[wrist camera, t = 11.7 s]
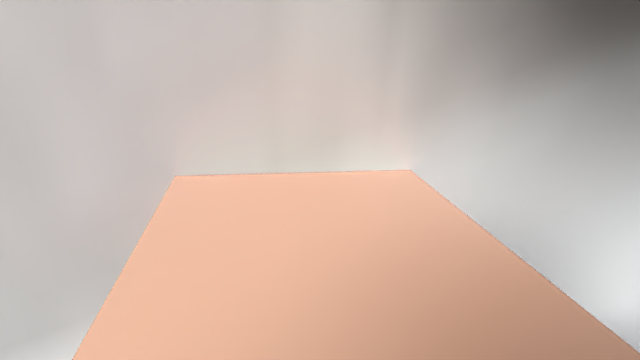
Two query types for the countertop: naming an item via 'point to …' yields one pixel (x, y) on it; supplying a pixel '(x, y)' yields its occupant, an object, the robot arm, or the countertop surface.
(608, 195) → the countertop surface
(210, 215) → the peach cube
